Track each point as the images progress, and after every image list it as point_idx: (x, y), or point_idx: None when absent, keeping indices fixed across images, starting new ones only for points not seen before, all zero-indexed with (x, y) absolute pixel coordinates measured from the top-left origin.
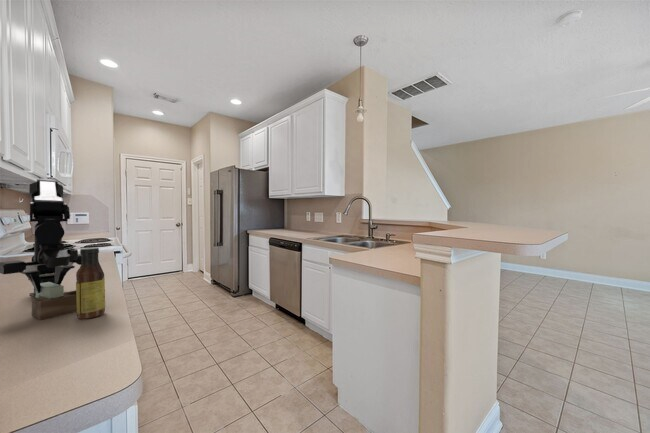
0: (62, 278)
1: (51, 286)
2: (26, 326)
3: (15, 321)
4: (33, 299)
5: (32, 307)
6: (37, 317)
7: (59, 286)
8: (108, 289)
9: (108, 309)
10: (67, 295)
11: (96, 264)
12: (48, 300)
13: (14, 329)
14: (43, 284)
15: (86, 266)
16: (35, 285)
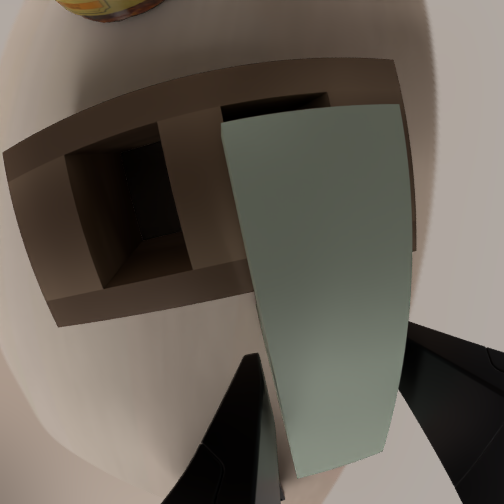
0: (210, 446)
1: (360, 247)
2: (382, 45)
3: None
4: (415, 219)
5: None
6: None
7: (279, 135)
8: (52, 427)
9: (44, 41)
10: (187, 128)
11: None
12: (347, 61)
13: (414, 50)
14: (364, 419)
15: None
16: (462, 340)
